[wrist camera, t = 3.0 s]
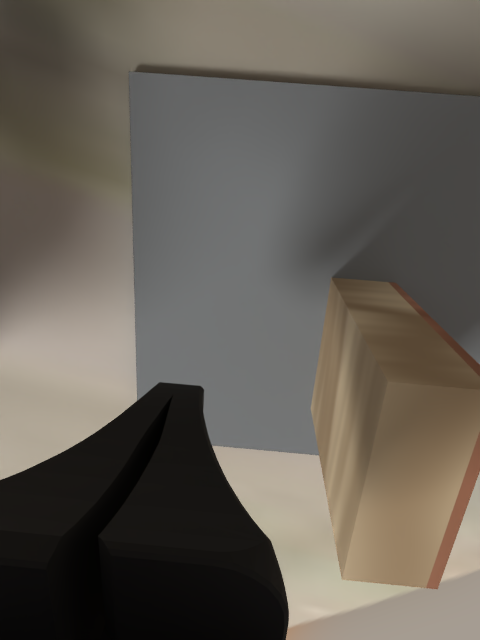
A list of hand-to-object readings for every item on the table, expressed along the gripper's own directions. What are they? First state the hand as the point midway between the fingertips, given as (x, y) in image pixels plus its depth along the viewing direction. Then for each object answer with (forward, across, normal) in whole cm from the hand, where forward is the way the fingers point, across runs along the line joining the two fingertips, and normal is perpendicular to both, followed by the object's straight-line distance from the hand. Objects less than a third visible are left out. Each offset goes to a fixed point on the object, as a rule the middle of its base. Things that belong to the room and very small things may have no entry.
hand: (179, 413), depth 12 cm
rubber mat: (+6, -7, -2) cm, 9 cm away
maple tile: (+6, -6, 0) cm, 8 cm away
